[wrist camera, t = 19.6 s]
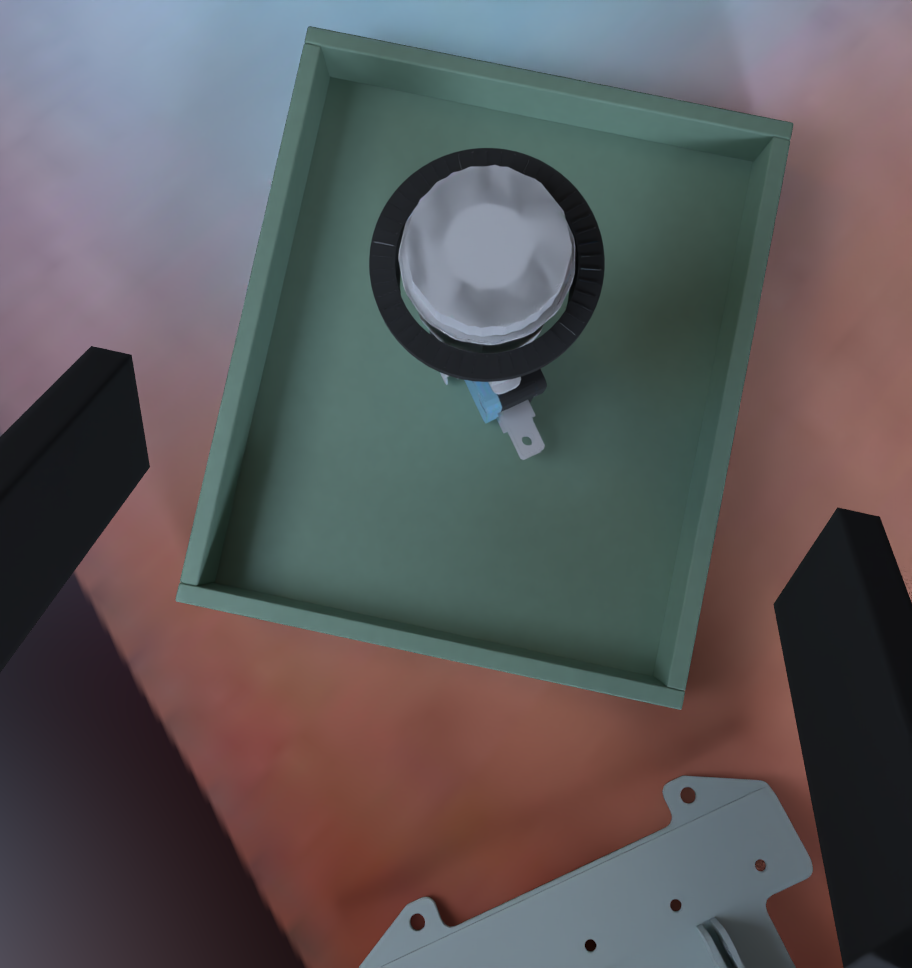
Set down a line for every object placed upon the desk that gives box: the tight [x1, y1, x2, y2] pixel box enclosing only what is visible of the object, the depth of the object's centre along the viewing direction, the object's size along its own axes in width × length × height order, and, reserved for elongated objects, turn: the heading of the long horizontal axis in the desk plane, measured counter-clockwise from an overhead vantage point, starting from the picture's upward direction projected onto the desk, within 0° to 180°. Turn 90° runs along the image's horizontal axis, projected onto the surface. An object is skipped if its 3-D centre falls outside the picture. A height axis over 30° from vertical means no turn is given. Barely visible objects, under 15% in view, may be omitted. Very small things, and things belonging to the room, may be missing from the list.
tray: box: [176, 26, 793, 710], centre depth 26 cm, size 19×16×2 cm
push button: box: [369, 148, 605, 460], centre depth 21 cm, size 7×5×10 cm
